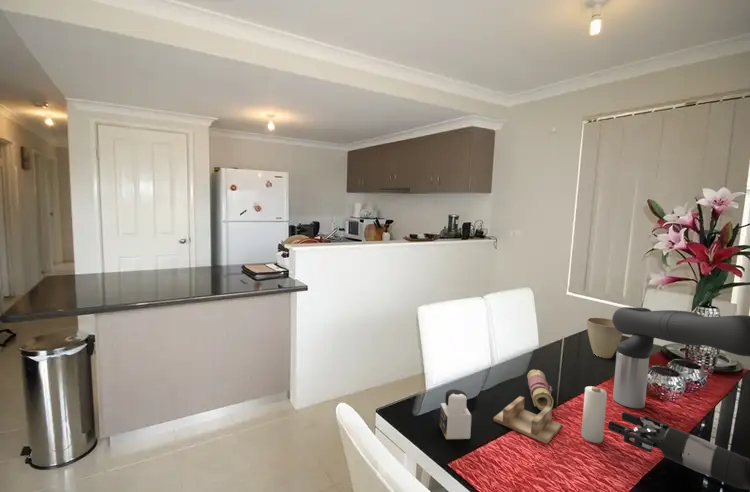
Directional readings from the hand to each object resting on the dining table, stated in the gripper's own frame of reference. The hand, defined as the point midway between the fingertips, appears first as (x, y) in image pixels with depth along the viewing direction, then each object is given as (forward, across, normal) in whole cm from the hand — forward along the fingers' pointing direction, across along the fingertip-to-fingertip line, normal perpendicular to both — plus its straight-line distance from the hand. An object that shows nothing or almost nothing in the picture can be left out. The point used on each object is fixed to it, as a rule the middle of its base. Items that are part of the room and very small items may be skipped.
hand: (615, 419), depth 103 cm
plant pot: (+34, -73, +8) cm, 81 cm away
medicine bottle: (+30, +32, +8) cm, 44 cm away
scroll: (+27, -9, +8) cm, 29 cm away
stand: (+20, +10, +8) cm, 24 cm away
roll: (+6, 0, +8) cm, 10 cm away
